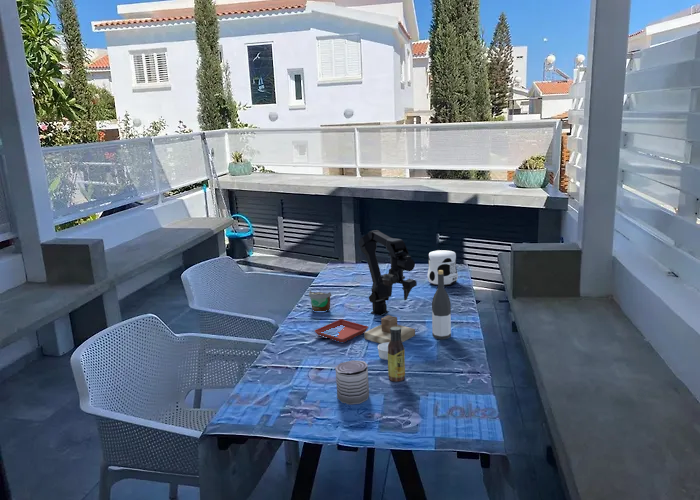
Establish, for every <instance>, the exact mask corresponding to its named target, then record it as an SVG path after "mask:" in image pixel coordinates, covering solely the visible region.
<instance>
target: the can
mask: <svg viewBox="0 0 700 500" xmlns="http://www.w3.org/2000/svg"><path fill="white" fill-rule="evenodd" d="M334 369H335V382H336V397H337V399H339V400H340V401H341V402H342V403H341V402H340V401H339V402H340V403H341V404H345V403H346V405H360V404H362V403H364V402H366V401H368V399H369V396H370V388H369V385H370V384H369V364H368V363H367V362H366V361H364V360H354V359H353V360H348V361H344V362H340V363H339V364H337V365H336V366H335V367H334Z"/></svg>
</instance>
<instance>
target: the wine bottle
mask: <svg viewBox="0 0 700 500" xmlns="http://www.w3.org/2000/svg"><path fill="white" fill-rule="evenodd" d="M451 304H452V303H451V299H450V297H449V294H448V293H447V291H446V289H445V286H444V274H443V270H439V271H438V285H437V289H436V291H435V292H434V294H433V297H432V300H431V323H432V324H431V325H432V327H431V329H432V337H433V338H434V339H437V340H448V339H450V338H451V336H452V319H451V318H452V317H451V316H452V312H451V311H452V308H451V307H452V305H451Z"/></svg>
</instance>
